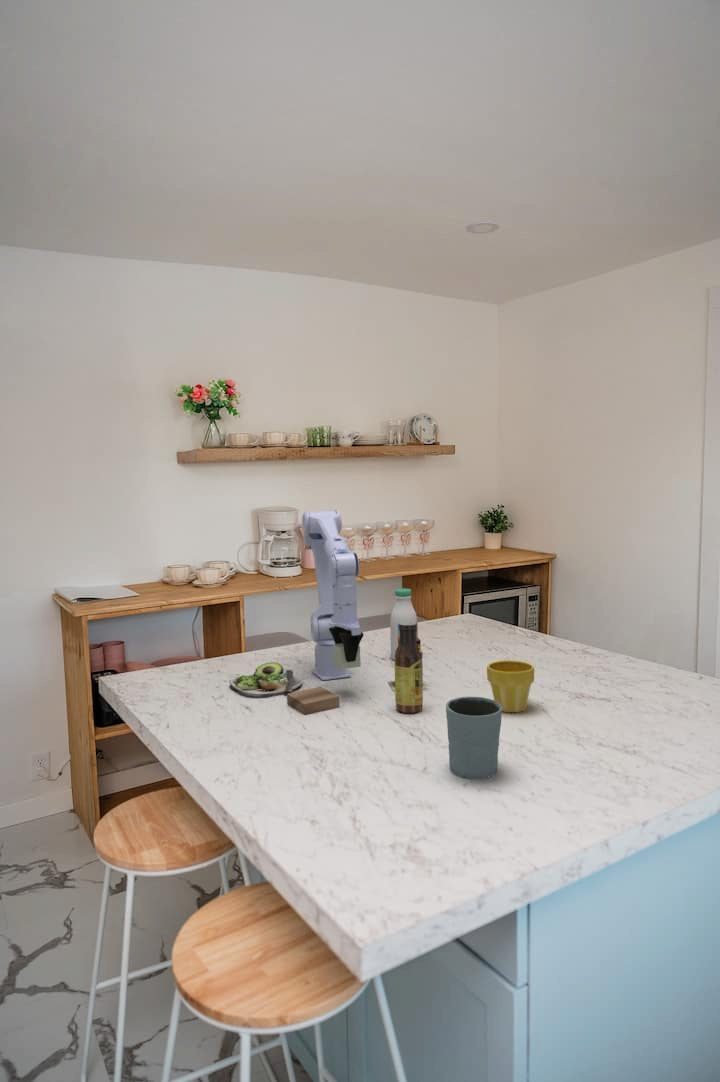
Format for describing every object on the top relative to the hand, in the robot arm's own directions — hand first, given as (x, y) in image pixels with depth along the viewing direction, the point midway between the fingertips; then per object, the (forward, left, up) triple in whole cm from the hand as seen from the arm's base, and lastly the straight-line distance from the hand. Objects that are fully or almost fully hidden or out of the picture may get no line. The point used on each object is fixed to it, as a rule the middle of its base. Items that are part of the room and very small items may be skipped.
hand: (346, 658), depth 175 cm
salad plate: (-16, -16, -10) cm, 25 cm away
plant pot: (+25, +30, -9) cm, 40 cm away
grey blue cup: (+50, +6, -9) cm, 51 cm away
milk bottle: (-23, +26, -9) cm, 36 cm away
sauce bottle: (+16, +9, -9) cm, 21 cm away
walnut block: (+4, -10, -9) cm, 14 cm away
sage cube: (0, 0, -2) cm, 2 cm away
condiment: (0, +16, -9) cm, 18 cm away
